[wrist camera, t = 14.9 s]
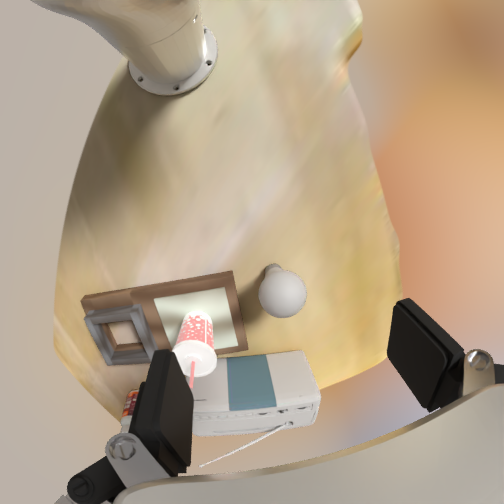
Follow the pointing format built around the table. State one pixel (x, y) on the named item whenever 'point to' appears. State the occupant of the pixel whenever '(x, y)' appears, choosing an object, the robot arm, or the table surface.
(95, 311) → the socket board
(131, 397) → the pill bottle
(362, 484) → the robot arm
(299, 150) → the table surface
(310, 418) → the stereo radio cassette player
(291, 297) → the lightbulb
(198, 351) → the beverage cup
